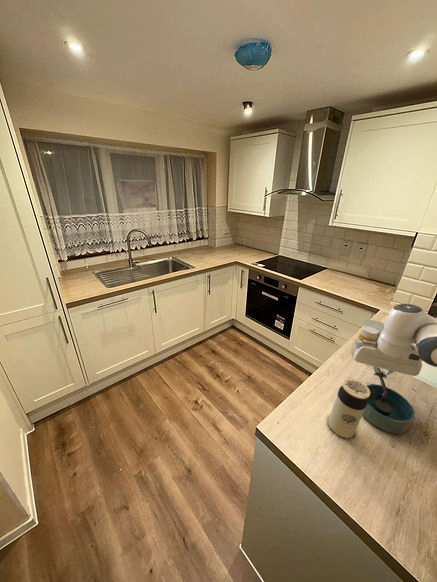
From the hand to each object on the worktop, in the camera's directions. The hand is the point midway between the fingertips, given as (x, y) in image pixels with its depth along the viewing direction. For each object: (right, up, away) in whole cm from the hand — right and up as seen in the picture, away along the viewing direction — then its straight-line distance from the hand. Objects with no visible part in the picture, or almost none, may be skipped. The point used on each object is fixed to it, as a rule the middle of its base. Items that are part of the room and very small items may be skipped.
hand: (379, 375), depth 89 cm
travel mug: (-20, -13, -10) cm, 26 cm away
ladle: (-2, -7, -2) cm, 8 cm away
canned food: (+15, +4, +29) cm, 33 cm away
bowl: (-3, -12, -6) cm, 13 cm away
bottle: (+7, +1, +22) cm, 23 cm away
